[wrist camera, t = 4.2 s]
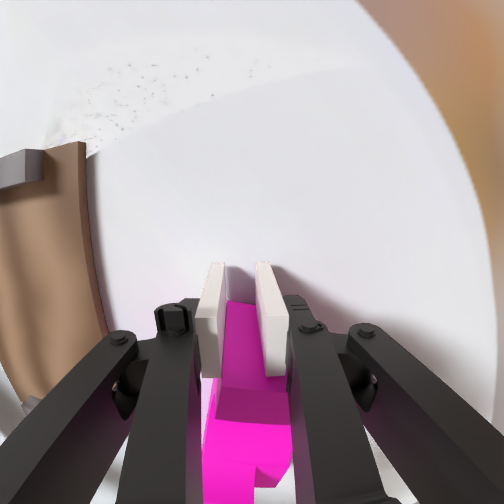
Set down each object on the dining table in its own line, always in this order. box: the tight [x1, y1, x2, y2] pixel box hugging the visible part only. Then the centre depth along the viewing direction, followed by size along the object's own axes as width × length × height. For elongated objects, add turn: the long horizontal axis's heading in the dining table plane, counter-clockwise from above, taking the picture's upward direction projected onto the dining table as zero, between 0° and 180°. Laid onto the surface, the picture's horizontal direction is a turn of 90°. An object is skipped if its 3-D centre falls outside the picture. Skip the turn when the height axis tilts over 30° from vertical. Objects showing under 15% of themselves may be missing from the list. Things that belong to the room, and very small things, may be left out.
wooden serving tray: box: [0, 141, 130, 434], centre depth 15 cm, size 16×24×3 cm, turn 1°
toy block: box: [202, 301, 293, 504], centre depth 15 cm, size 15×6×8 cm, turn 169°
